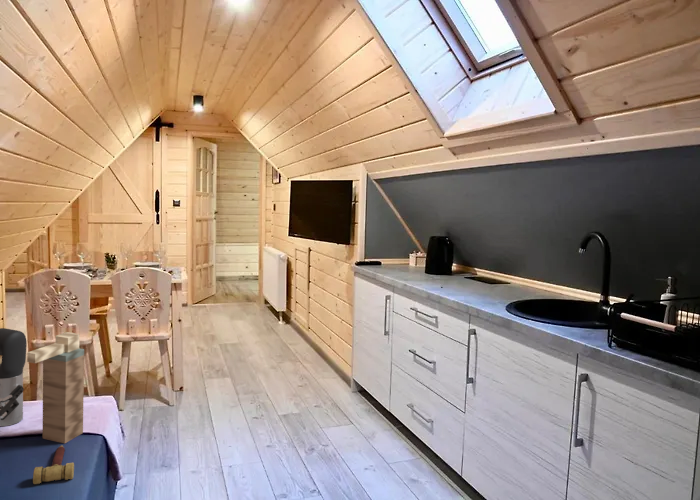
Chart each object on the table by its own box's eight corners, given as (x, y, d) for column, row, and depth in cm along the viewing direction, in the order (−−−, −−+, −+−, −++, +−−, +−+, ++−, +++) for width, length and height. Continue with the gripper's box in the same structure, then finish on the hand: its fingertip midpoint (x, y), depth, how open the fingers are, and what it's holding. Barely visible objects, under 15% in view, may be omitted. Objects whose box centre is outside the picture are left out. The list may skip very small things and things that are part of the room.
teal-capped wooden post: (64, 443, 169) (66, 356, 166) (42, 438, 172) (43, 352, 168) (82, 432, 177) (84, 349, 174) (61, 428, 179) (62, 345, 176)
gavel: (44, 441, 164) (79, 437, 168) (43, 455, 165) (78, 451, 169) (32, 471, 145) (72, 466, 149) (32, 487, 145) (72, 481, 149)
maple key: (37, 363, 158) (37, 348, 157) (24, 361, 159) (24, 345, 158) (79, 348, 174) (79, 334, 174) (67, 346, 175) (67, 332, 175)
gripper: (-50, 434, 143) (-4, 388, 155) (-9, 444, 139) (35, 396, 152) (-64, 418, 138) (-16, 372, 151) (-22, 427, 135) (24, 380, 148)
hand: (9, 384), depth 152 cm, fingers open, 8 cm apart
